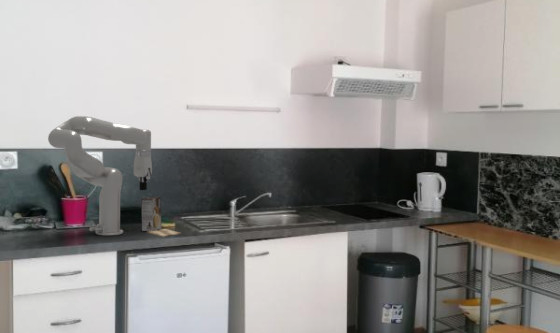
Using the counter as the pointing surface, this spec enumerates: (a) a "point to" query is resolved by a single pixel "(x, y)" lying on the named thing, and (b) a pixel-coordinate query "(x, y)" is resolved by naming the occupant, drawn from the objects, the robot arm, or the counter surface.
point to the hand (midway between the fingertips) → (143, 189)
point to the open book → (163, 232)
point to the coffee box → (151, 213)
